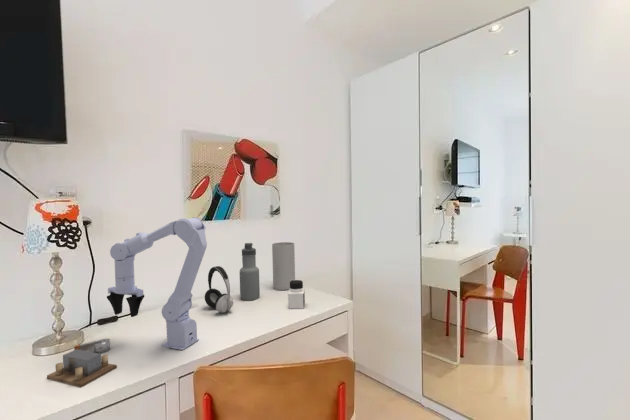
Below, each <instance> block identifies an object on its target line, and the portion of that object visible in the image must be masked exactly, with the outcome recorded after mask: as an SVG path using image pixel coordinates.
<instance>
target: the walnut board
mask: <svg viewBox="0 0 630 420" xmlns="http://www.w3.org/2000/svg"><path fill="white" fill-rule="evenodd" d="M88 352H89V351H88ZM117 368H118V365H117V364H112V363H109V355H108V354H103V355H101V370H99V371H97V372H95V373H94V374H92V375H90V376H84V375H83V369H82V367H78V368H76V369H75V373H71V372H67V371H63V362H58V363H56V364H55V371H53V372H52V373H50V374H48V375H46V379H48V380H52V381H56V382H58V383H63V384H68V385H71V386H74V387H79V388H84V387H85V386H87V385H88V384H89V385H90V384H91V383H92V382H95V381H97V380H98V379H100V378H102V377H103V376H105V375H107V374H109V373H111V372H112V371H114V370H116V369H117Z"/></svg>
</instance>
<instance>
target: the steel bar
mask: <svg viewBox="0 0 630 420" xmlns="http://www.w3.org/2000/svg"><path fill="white" fill-rule="evenodd" d="M101 354H102V353H101ZM101 354H98V353H93V352H88V351H83V350H78V349H76V350H72V351H69V352H67V353H65V354H63V355H62V363H63V371H67V372H71V373H75V369H76V368H78V367H82V369H83V375H84V376H90V375H92V374H94V373H95V372H97V371H99V370H101V356H102V355H101Z"/></svg>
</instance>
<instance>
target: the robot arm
mask: <svg viewBox="0 0 630 420" xmlns="http://www.w3.org/2000/svg"><path fill="white" fill-rule="evenodd" d="M206 228H207V227H206V225H205V223H204V222H203V221H202V219H200V218H199V217H191V218H180V219H178V220H175V221H171V222H169V223H167V224H165V225H164V226H161V227H159V228H157V229H156V230H154V231H151V232H150V233H149V232H148V233H147V232H141V231H140V232H137V233H135V236H133V237H131V238H125V239H124V241H123V242H117V243H114V244H113V245H112V246H111V247H110V249H109V251H110V252H109V254H110V256H111V258H112V259H113V260H114V275H115V276H114V279H115V281H114V282H115V286H111V287H108V288H107V294H108V295H107V296H106V299H107V300H108V302H109V303H110V305H111V307H112V309H113V313H114V315H115V316H117V315H120V314H122V313H123V301H124V297H125V295H126V296H128V297H126V298H125V300H126V301H127V304H128V308H129V313H130V317H131V318H135V317H136V316H138V314H139V311H140V308H141V307H140V306H141V304H142V301H143V299H144V298H145V293H144V289H140V288H138V285H136V284H135V257H136V255H137V254H140V253H142V252H144V251H146V250H147V249H148V250H149V249H151V247H153V245H154V243H155V242H157V241H159V240H161V239H164V238H166V237H168V236H177V237H178V238H179V239H181V240H182V242H184V243H185V244H186V246H187V247H188V251H187V254H186V257H185V259H184V261H183V265H182V268H181V270H180V273H179V277H178V278H177V282H176V286H175V288H174V290H173V292H172V293H171V295H170V296H169V297H168V299H167V302H166V303H165V304H164V305H163V306H162V308H161V316H162V318H163V319H164V320H165V323H166V327H165V328H166V341H165V342H164V343H161V344H160V346H161V347H165V348H170V349H175V350H181V351H183V350H185V349H187V348H189V347H190V346H191V345H193V344H195V343H196V342H198V341H199V338H198V328H197V327H198V326H197V320H195V319H193V318H191V317H190V313H189V312H190V310H191V308H192V305H193V302H192V299H193V293H192V290H193V287H194V284H195V281H196V278H197V275H198V273H199V270H200V267H201V264H202V261H203V258H204V255H205V252H206V249H207V246H208V242H207V237H206Z"/></svg>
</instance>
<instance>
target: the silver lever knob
mask: <svg viewBox="0 0 630 420" xmlns="http://www.w3.org/2000/svg"><path fill="white" fill-rule="evenodd" d="M73 348H74V350H76V349H78V350H83V351H89V352H93V353H98V354H103V353H104V354H105V353H107V352H109V351H110V350H111V340H110V338H101V339H97V340H93V341H90V342H85V343H79V344H75V345H74V347H73ZM74 350H73V351H74Z"/></svg>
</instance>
